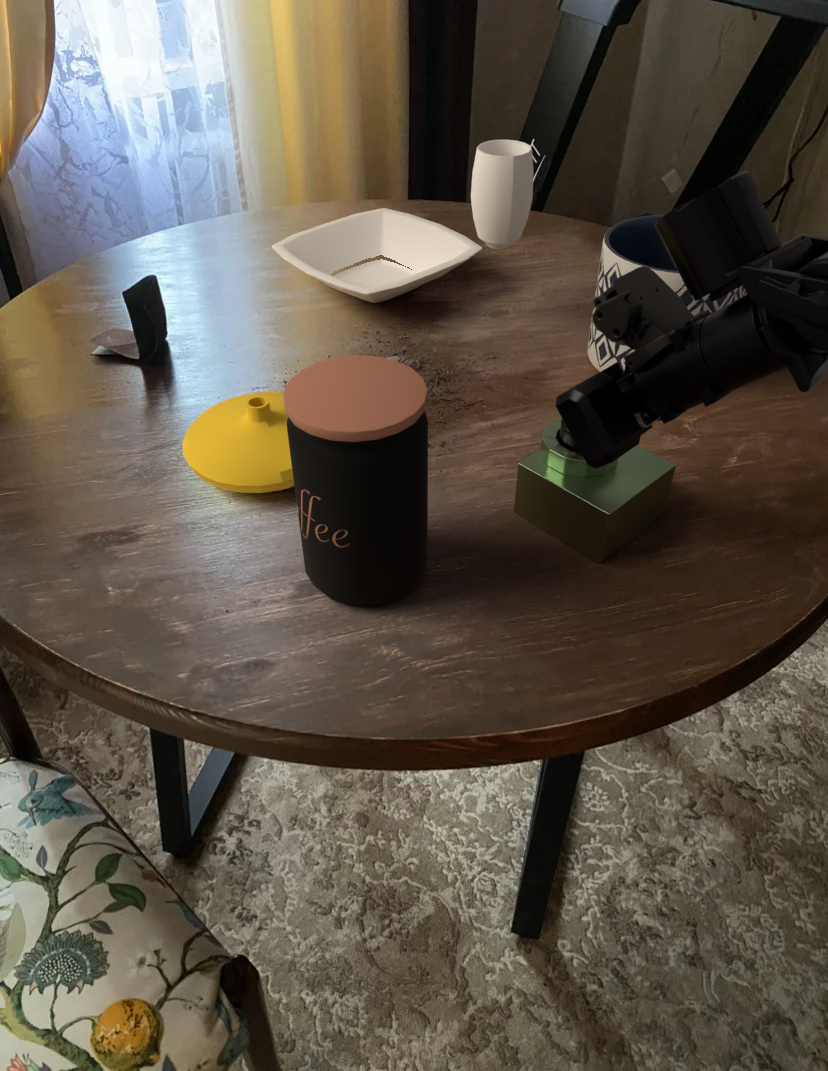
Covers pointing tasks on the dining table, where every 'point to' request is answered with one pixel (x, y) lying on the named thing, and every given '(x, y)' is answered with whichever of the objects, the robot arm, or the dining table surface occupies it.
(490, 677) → the dining table surface
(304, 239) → the bowl
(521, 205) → the cup
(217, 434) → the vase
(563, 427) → the button
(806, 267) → the robot arm
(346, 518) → the coffee jar
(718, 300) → the planter
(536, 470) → the push button box
